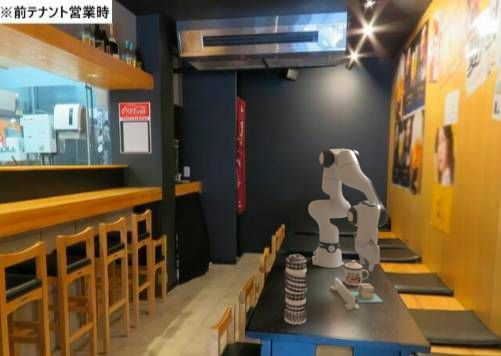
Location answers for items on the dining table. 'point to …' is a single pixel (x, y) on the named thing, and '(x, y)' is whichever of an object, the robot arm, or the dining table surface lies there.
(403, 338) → the dining table surface
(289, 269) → the decorative candle
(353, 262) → the teacup with lid
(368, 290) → the maple block
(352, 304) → the divider wall
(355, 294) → the pad
